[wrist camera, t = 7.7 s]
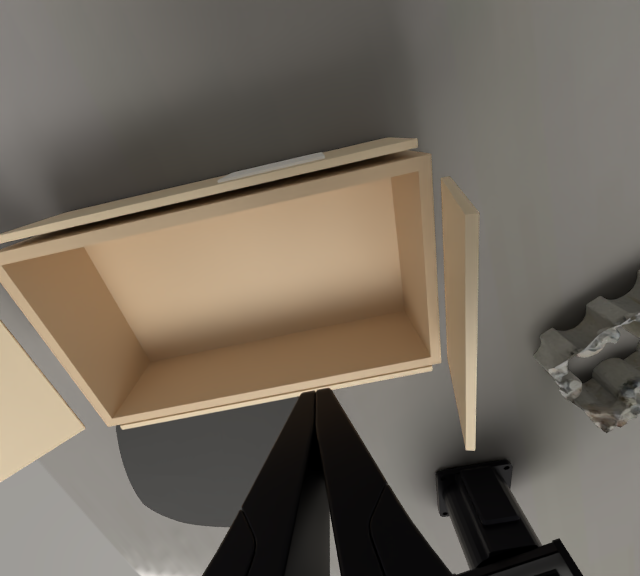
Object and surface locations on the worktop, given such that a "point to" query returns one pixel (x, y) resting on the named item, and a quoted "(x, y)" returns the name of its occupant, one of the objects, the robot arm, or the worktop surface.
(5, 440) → the flap
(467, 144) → the worktop surface
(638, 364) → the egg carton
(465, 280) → the flap
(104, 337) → the carton
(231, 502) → the media streaming box
